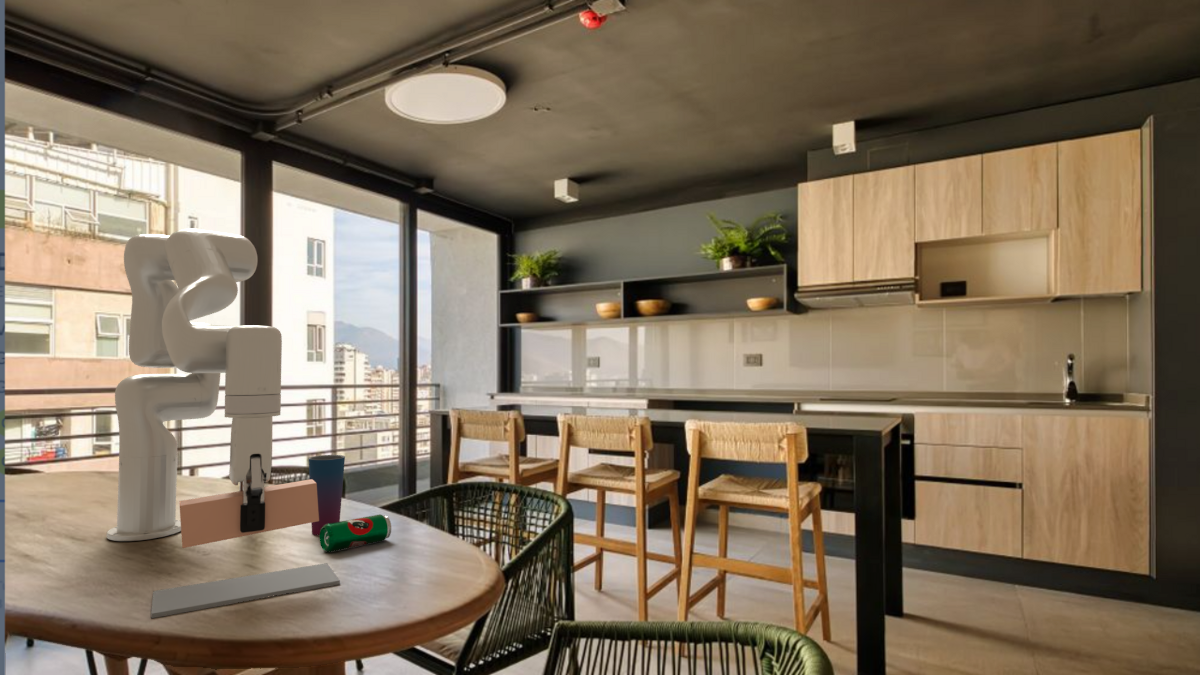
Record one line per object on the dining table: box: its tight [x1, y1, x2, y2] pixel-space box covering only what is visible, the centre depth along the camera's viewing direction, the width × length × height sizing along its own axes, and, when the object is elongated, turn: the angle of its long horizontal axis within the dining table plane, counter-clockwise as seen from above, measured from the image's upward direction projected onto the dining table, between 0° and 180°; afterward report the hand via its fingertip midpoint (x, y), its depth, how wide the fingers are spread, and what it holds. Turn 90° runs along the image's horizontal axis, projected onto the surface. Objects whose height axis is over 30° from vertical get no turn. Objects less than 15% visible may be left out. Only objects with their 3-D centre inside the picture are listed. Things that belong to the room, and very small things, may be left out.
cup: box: [308, 454, 346, 536], centre depth 129 cm, size 7×7×15 cm
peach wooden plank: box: [179, 479, 319, 549], centre depth 97 cm, size 4×18×6 cm, turn 124°
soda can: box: [318, 514, 392, 554], centre depth 119 cm, size 5×5×12 cm
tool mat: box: [150, 563, 341, 619], centre depth 97 cm, size 10×24×1 cm, turn 124°
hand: (250, 526), depth 97 cm, fingers closed on peach wooden plank, 4 cm apart
